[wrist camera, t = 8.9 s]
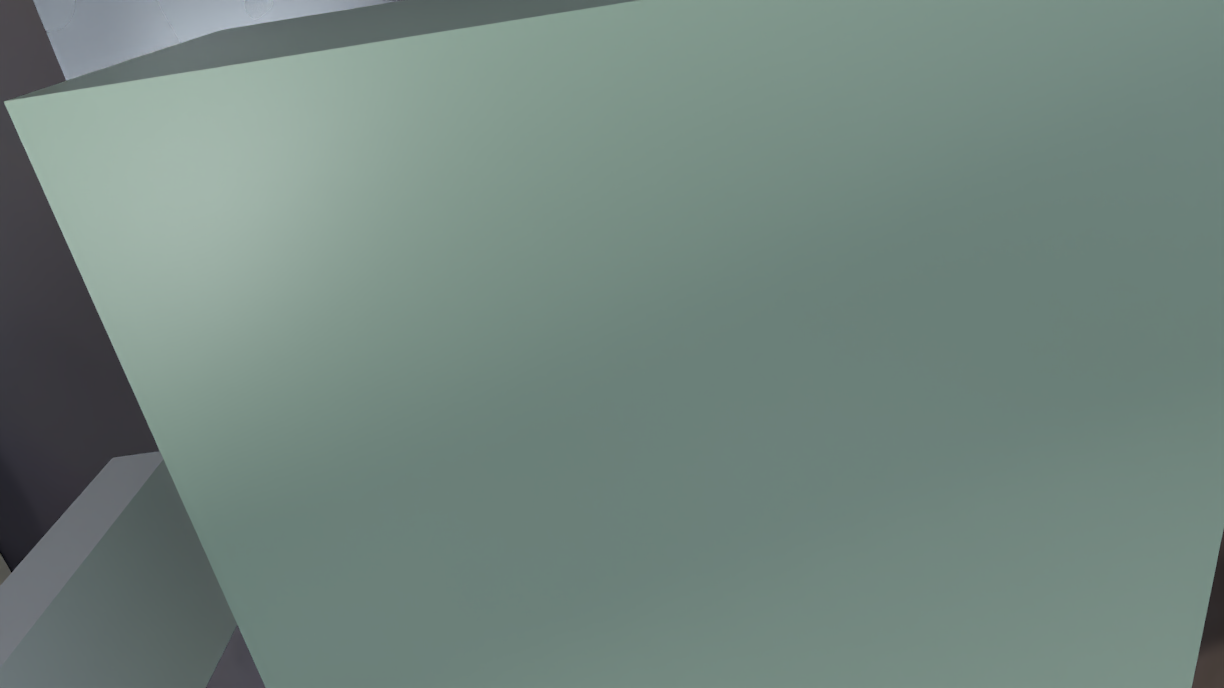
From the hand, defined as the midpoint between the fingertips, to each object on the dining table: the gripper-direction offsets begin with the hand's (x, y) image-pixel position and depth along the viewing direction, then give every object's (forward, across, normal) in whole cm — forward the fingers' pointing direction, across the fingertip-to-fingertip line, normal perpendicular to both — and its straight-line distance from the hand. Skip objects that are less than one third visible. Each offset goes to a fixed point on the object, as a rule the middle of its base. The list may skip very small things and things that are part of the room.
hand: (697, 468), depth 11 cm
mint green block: (0, 0, 0) cm, 0 cm away
